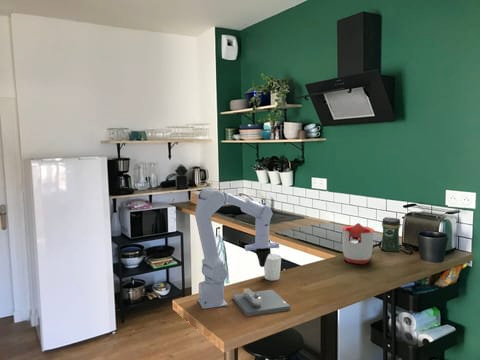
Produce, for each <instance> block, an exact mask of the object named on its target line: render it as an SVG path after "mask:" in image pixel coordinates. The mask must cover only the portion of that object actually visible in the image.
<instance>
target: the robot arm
mask: <svg viewBox="0 0 480 360" xmlns="http://www.w3.org/2000/svg"><path fill="white" fill-rule="evenodd" d="M196 201H197V202H196V207H195V210H194V218H195V222H196V226H197V231H198V236H199V240H200V243H201V249H202V253H203V257H204V258H203V259H202V260H201V263H202V264H201V273H202V276H204V281H201V282H199V283H198V300H197V301H198V303H199V305H200V306H201V308H202V309H204V310H206V309H212V308H219V307H227V306H228V303H227V302H226V300H225V292H224V291H225V290H224V289H225V280H226V279H228V278H227V277H228V269H227V268H226V267H225V265H224V261H223V260H222V259H221V257H220V256H219V252H218V247H217V242H216V237H215V232H214V228H213V224H212V219H211V217H212V215H213V214H214V213H216V212H217V211H218V210H219V209H220V208H221V207H222V206H223V205H228V204H230V205H232V206H236V207H238V208H240V211H241V212H242V213H245V214H247V215H250V216H252V217H254V218H255V226H254V227H255V231H254V232H255V235H254V236H255V237H254V238H255V239H254V242H255V243H252V244H246V245H244V250H245V251H246V252H249V251H254V252H255V255H256V256H257V259H258V264H259V266H260V267H261V268H264V266H265V262H266V259H267V257H268V255H269V254H271V250H270V249H279V248H280V243H279V242H270V223H271V218H272V217H273V214H274V213H273V212H272V209H271V207H270V206H268V205H264V204H263V202H260V201H259V202H258V201H255V200H254V198H252V197H249V198H244V199H242V198H240V197H238V196H236V195H234V194H231V193H229V192H226V191H222V190H218V189H211V188H207V187H204V188H202V189H201V190H200V191H199V193H198V194H197V195H196Z"/></svg>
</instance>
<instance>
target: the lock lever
mask: <svg viewBox="0 0 480 360" xmlns="http://www.w3.org/2000/svg"><path fill="white" fill-rule="evenodd" d="M254 292H255V291H253V290H251V289H250V288H249V287H247V288H243V289H242V294H243V295H244V296H245V298H246V299H247V300H248V301H249V302H250V303H251V304H252V307H254V308H260V307H261V301H262V297H261V296H259V297H258V298H255V297H254V294H255V293H254Z"/></svg>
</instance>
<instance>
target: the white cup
mask: <svg viewBox="0 0 480 360" xmlns="http://www.w3.org/2000/svg"><path fill="white" fill-rule="evenodd" d="M281 264H282V256H281V255H279V254H278V253H277V254H276V253H269V255H268V257H267V259H266V262H265V266H264V267H263V271H264V279H265V280H268V281H278V280H279V279H280V277H281V276H280V275H281V266H282V265H281Z"/></svg>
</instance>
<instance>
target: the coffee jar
mask: <svg viewBox="0 0 480 360" xmlns="http://www.w3.org/2000/svg"><path fill="white" fill-rule="evenodd" d="M400 219H401V218H395V217H387V216H385V217H383V219H382V222H381V227H382V238H381V246H380V248H381V250H382V249H383V250H382V251H386V250H387V252H393V251H394V252H399V251H400V236H399V235H400V228H401V220H400ZM394 252H393V253H394Z"/></svg>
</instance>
